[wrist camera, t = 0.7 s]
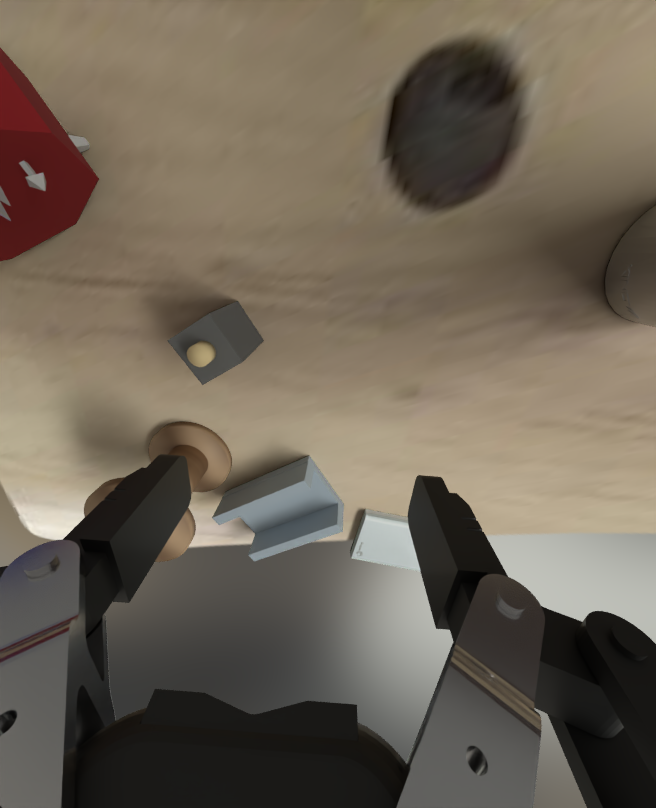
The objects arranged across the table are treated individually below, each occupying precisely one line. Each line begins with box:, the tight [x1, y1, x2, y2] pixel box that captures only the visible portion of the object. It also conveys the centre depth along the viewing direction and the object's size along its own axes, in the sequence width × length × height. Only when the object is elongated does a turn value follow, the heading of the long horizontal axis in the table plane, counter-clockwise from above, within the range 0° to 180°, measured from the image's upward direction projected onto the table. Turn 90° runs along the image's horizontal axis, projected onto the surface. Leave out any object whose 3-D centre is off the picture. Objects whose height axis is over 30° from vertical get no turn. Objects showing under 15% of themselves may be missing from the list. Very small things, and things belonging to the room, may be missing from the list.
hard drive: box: [350, 509, 421, 572], centre depth 38 cm, size 2×8×12 cm
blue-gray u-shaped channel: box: [212, 456, 344, 561], centre depth 35 cm, size 12×8×4 cm, turn 120°
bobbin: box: [84, 422, 232, 562], centre depth 30 cm, size 9×9×10 cm
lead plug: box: [168, 301, 264, 385], centre depth 24 cm, size 4×4×7 cm
